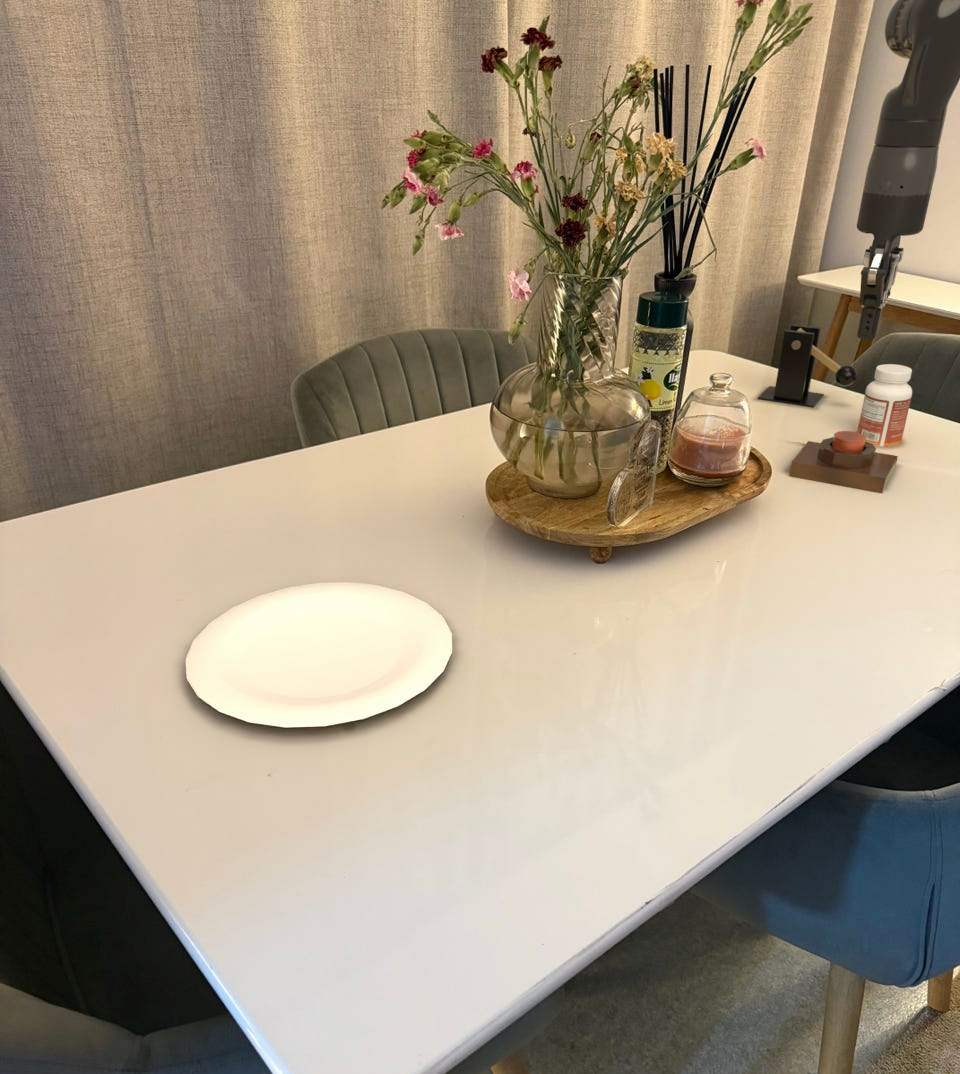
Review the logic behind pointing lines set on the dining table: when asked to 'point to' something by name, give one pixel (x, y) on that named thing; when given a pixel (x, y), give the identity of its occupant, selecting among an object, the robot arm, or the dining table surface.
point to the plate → (319, 655)
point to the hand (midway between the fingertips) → (866, 337)
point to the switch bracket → (795, 369)
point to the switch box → (844, 466)
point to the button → (848, 441)
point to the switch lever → (835, 367)
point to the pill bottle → (886, 405)
